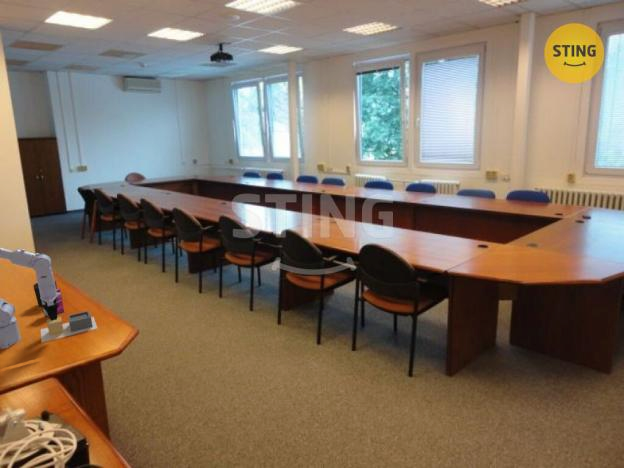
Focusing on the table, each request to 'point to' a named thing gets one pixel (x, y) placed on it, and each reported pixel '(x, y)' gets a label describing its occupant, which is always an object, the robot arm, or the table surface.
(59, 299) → the supplement box
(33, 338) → the table surface
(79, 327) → the charcoal base block
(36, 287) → the pen holder
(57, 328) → the ochre block
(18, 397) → the table surface
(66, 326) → the build board
